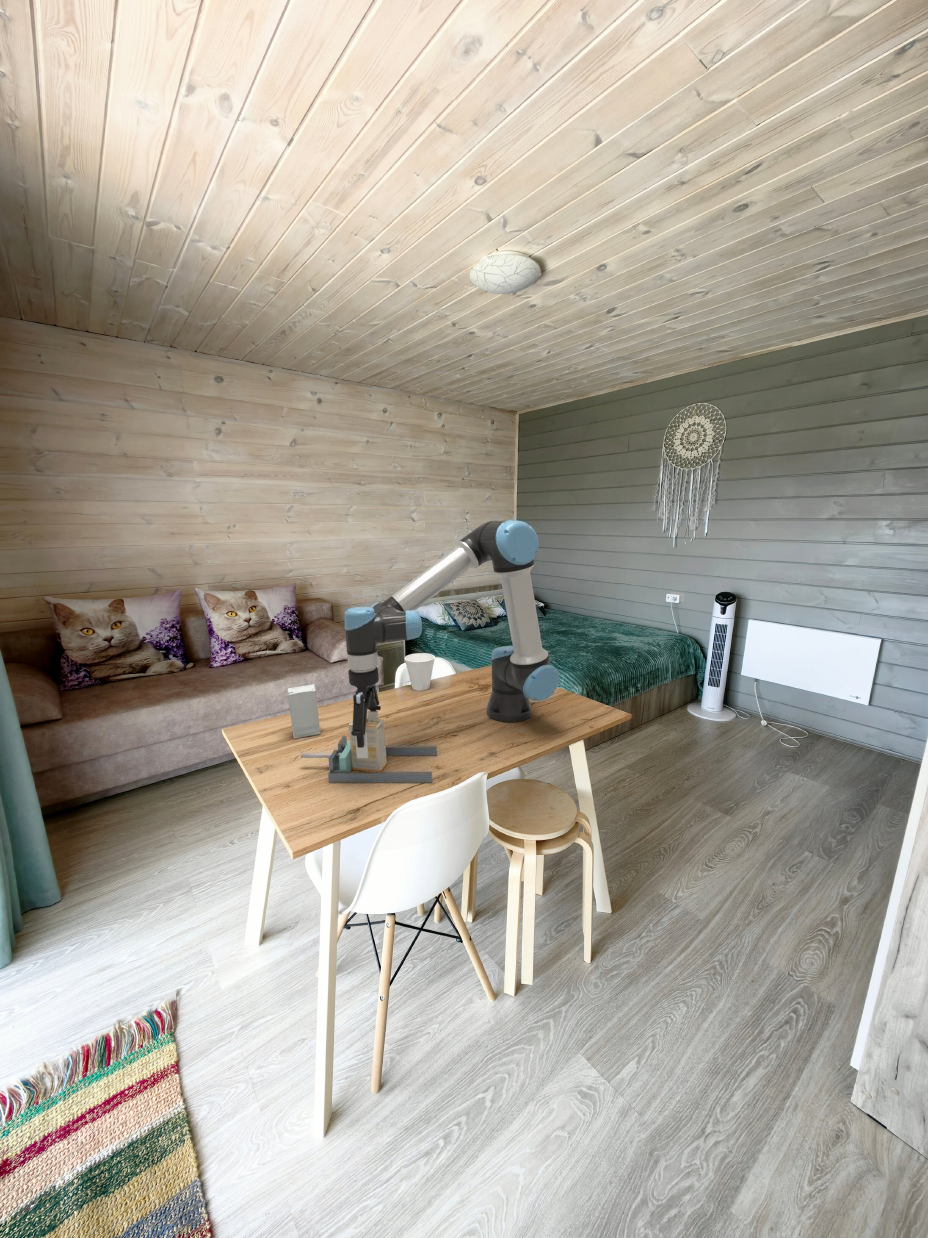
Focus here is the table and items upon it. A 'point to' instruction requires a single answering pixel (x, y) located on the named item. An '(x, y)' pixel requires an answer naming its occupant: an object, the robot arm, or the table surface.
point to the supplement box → (370, 747)
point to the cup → (420, 670)
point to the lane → (381, 776)
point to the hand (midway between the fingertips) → (368, 745)
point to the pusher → (343, 758)
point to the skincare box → (303, 711)
